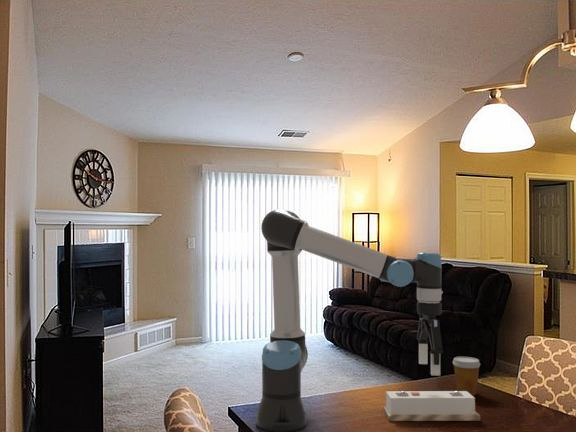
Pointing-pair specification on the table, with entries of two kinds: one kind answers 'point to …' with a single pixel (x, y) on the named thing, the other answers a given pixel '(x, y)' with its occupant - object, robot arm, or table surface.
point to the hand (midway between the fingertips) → (429, 369)
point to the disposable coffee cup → (466, 373)
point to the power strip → (430, 403)
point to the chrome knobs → (405, 394)
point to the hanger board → (432, 417)
